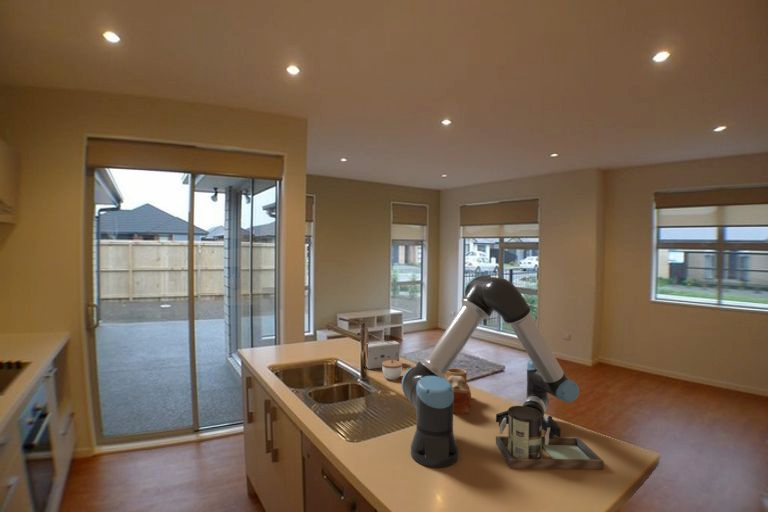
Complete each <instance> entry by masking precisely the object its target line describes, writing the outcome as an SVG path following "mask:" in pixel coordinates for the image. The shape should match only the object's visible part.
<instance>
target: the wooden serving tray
mask: <svg viewBox="0 0 768 512" xmlns="http://www.w3.org/2000/svg"><path fill="white" fill-rule="evenodd" d="M495 445H496V446H497V448H498V449H499V451H500V453H501V455H502V457H503V459H504V461H506V463H507V465H508V467H509V468H510V469H531V470H533V469H534V470H535V469H538V470H540V469H543V470H545V469H547V470H549V469H550V470H551V469H552V470H604V460H603V459H602V458H601V457H600V456H598V454H597V453H595V452H594V451H593V450H592V449H591V448H590V447H589V446H588V445H587V444H586V443H585V442H584V441H583V440H582V439H581V438H580V437H578V436H574V437H573V436H561V437H558V436H554V438H553V439H549V442H548V445H576V446H577V447H578V448H579V449H580V450H581V451H582V452H583V453H584V454H585V455H586V456H587V457H588V458H589V459H552V458H542V459H513V458H512V456H511V455H510V453H509V452H508V449H507V448H508V447H506V446H508V436H506V435H505V436H504V435H503V436H501V435H500V436H499V435H498V436H497V435H496V436H495ZM542 445H545V436H542Z"/></svg>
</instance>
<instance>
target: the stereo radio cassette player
mask: <svg viewBox="0 0 768 512" xmlns="http://www.w3.org/2000/svg"><path fill="white" fill-rule="evenodd" d="M369 335H371V336H373V337H374V338H377V339H378V340H381V341H379V342H378V341H377V342H369V344H368V343H367V344H368V359H367V368H366V369H368V370H373V369H380V368H381V369H382V362H384V361H388V360H396V361H400V346H401V344H400V342H398V341H397V340H389V341H387V340H385V339H383V338H381V337H378V336H376V335H374V334H371V333H369Z"/></svg>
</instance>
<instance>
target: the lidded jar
mask: <svg viewBox="0 0 768 512" xmlns="http://www.w3.org/2000/svg"><path fill="white" fill-rule="evenodd" d="M381 369H382V370H381V371H382V374H383V376H384V377H385V378H386V380H389V381H395V380H398V379H399V378H400V376H401V375H402V372H403V362H402V361H400V360H399V361H396V360H388V361H384V362H382V367H381Z"/></svg>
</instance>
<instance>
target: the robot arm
mask: <svg viewBox="0 0 768 512" xmlns="http://www.w3.org/2000/svg"><path fill="white" fill-rule="evenodd" d="M461 303H462V305H461V307H460V309H459V310H458V312H457V313H456V314H455V316H454V318H453V319H452V321H451V322H450V324H449V325H448V327H447V328H446V330H445V331H444V332H443V334H442V335H441V337H440V338H439V339H438V341H437V342H436V343H435V345H434V347H433V348H432V350H431V351H430V353H428V355H427V357H426V358H425V359H419V360H418V362H417V364H416V366H414V367H409V369H407V370H406V371H405V372H404V374H403V375H402V376H403V377H402V379H401V389H402V392H403V394H404V396H405V398H406V399H407V400H408V401H409V402H410V403H411V405H412V406H413V407H414V408H415V411H416V428H415V432H414V435H413V437H412V440H411V444H410V456H411V457H412V459H413V460H414V461H415V462H417V463H419V464H421V465H423V466H426V467H430V468H445V467H450V466H452V465H454V464H455V463H456V462H457V461H458V459H459V447H458V444H457V440H456V438H455V434H454V414H453V400H454V394H453V387H452V385H451V383H450V382H449V381H448V380H446V372H447V371H448V369H450V368H451V366H452V365H453V363H454V362H455V360H456V359H457V358H458V356H459V355H460V353H461V352H462V350H463V349H464V347H465V346H466V344H467V343H468V342H469V340H470V338H471V337H472V335H473V334H474V332H475V331H476V330H477V328H478V326H479V325H480V323H481V322H482V321H483V320H486V319H489V318H490V317H491V315H492V313H493V312H496V313H497V314H498V315H499V316H500V317H501V319H502V320H503V321H504V323H505V324H507V325H510V326H509V327H511V329H512V331H513V332H514V334H515V336H516V337H517V338H518V341H519V342H520V345H522V347H523V348H524V350H525V352H526V354H527V356H528V357H529V360H528V361H527V365H526V366H527V367H526V399H525V400H524V402H523V404H522V406H527V407H531V408H534V409H537V410H538V411H540V412H541V413H542V431H544V432H546V433H545V435H544V437H545V445H548V442H549V439H553V438H554V437H562V428H561V427H560V426H559V425H558V424H557V423H556V422H555V420H554V419H553V416H552V415H548V417H545V416H544V415H545V413H546V410H547V407H548V406H549V401H550V399H549V398H550V397H549V395H551V396H553V397H555V398H557V399H558V400H561V401H562V402H565V403H573V402H575V401H576V399H577V398H578V397H579V393H580V387H579V386H578V384H577V382H575V381H573V380H572V379H569V378H568V376H567V375H566V373H565V371H564V369H562V366H561V364H560V363H559V361H558V360H557V358H556V356H555V354H554V353H553V351H552V349H551V347H550V345H548V343H547V341H546V339H545V337H544V336H543V334H542V332H541V331H540V329H539V327H538V326H537V323H536V321H534V319H533V317H532V315H531V311H532V310H531V307H530V305H529V304H528V302H527V300H526V299H525V298H524V296H523V295H522V293H521V292H520V290H519V289H518V288H517V287H516V286H515V285H514V284H513V283H512V282H511V281H509V279H508V280H507V279H506V278H504V277H494V276H489V275H479V276H478V275H477V276H474V277H473V278H471V279H470V280H468V282H467V283H466V285H465V287H464V296H463V297H462V299H461ZM495 422H496V423H498V427H499V434H500V435H502V434H503V433H504V431H505V430H506V427H507V425H508V424H509V413H508V409H507V410H505V411H502V412H500V413H497V414H495Z"/></svg>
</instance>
